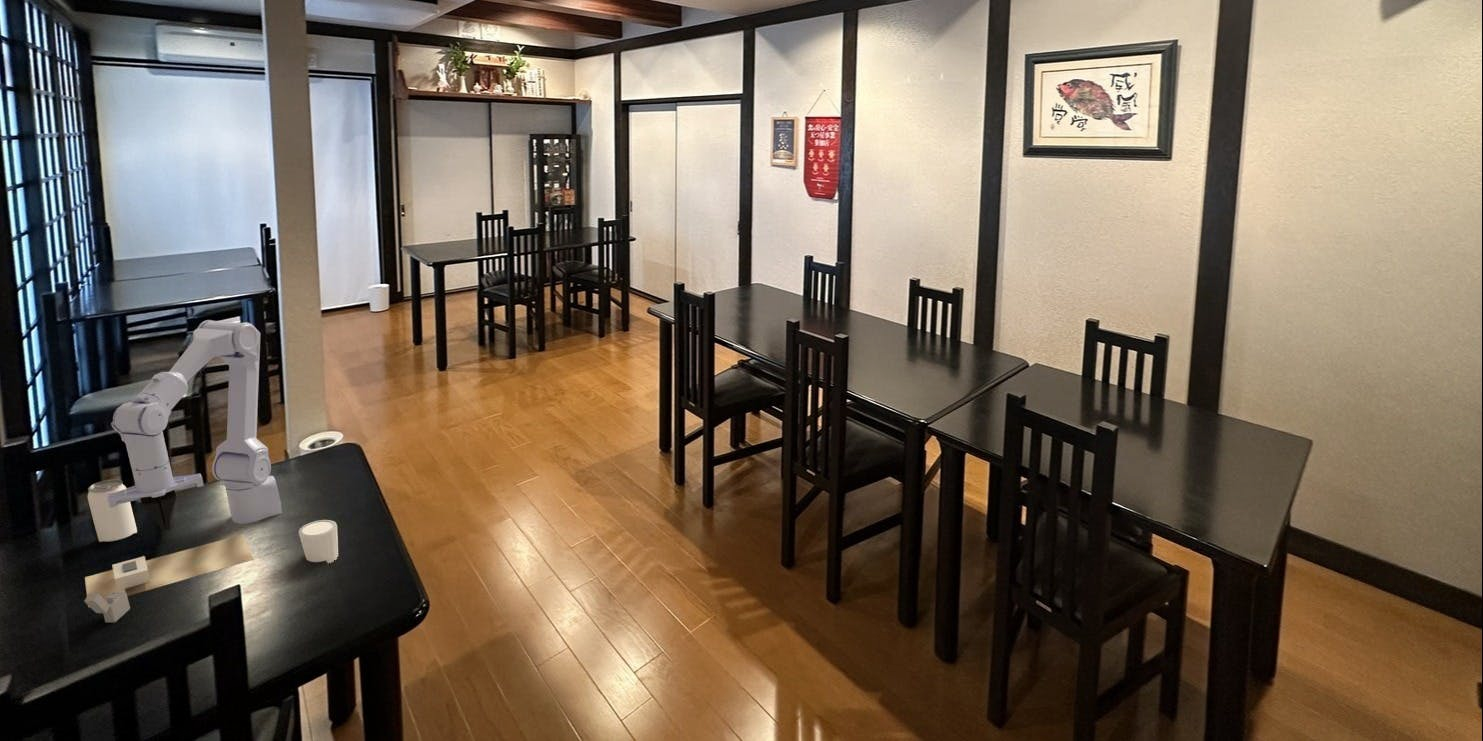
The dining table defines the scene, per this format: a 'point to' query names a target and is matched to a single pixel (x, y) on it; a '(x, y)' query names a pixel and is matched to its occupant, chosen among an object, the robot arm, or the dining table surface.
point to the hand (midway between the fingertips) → (165, 528)
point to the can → (110, 512)
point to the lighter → (109, 605)
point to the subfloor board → (177, 566)
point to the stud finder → (131, 573)
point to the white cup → (320, 541)
